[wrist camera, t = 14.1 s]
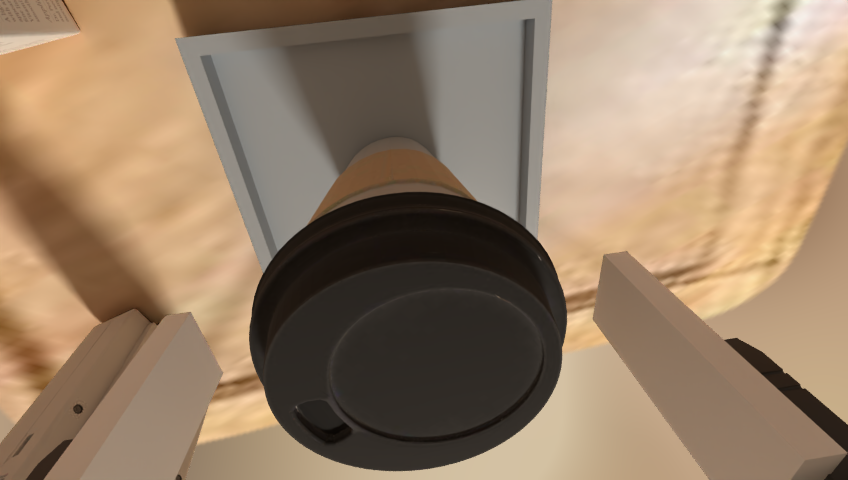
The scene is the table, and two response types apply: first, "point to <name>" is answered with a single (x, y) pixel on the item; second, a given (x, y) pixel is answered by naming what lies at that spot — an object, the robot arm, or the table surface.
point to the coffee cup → (407, 319)
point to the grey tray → (376, 106)
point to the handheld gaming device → (78, 395)
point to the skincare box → (33, 23)
